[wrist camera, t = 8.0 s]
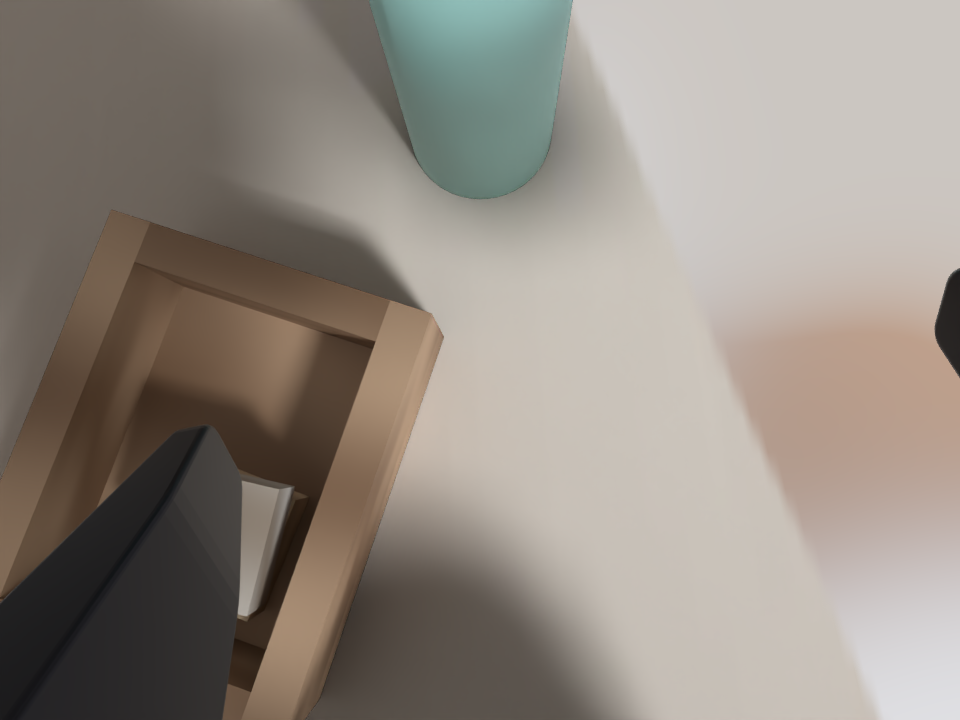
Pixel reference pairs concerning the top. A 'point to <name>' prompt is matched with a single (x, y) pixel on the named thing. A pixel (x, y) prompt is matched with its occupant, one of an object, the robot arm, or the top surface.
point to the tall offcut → (476, 86)
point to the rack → (227, 424)
